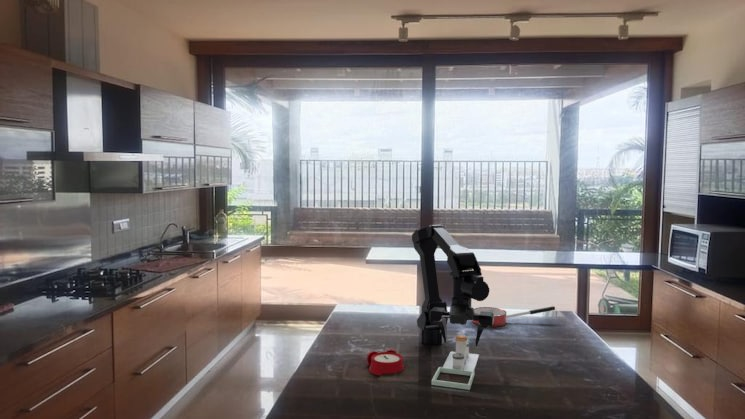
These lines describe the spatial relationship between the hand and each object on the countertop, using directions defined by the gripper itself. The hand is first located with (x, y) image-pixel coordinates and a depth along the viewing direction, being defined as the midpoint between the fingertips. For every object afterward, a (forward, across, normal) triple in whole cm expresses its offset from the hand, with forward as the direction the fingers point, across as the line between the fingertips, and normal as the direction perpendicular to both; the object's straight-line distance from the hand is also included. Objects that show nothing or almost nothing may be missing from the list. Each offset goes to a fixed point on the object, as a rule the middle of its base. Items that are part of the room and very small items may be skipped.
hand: (460, 344), depth 155 cm
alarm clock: (+7, -21, -9) cm, 24 cm away
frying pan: (+7, +12, +53) cm, 55 cm away
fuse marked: (+5, 0, 0) cm, 5 cm away
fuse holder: (+6, 0, 0) cm, 6 cm away
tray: (+6, 0, -14) cm, 15 cm away
